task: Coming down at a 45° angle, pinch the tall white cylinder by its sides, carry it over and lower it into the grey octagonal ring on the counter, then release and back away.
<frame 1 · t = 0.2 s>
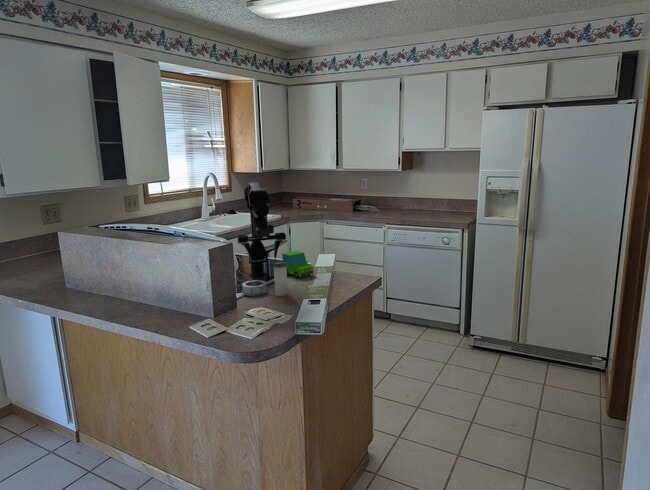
hand: (263, 260, 176), 15 cm above the countertop, tool tilted 15°, fingers open, 9 cm apart
grey octagonal ring: (254, 291, 186), on the countertop
toy car: (298, 275, 209), on the countertop
white cylinder: (281, 294, 182), on the countertop
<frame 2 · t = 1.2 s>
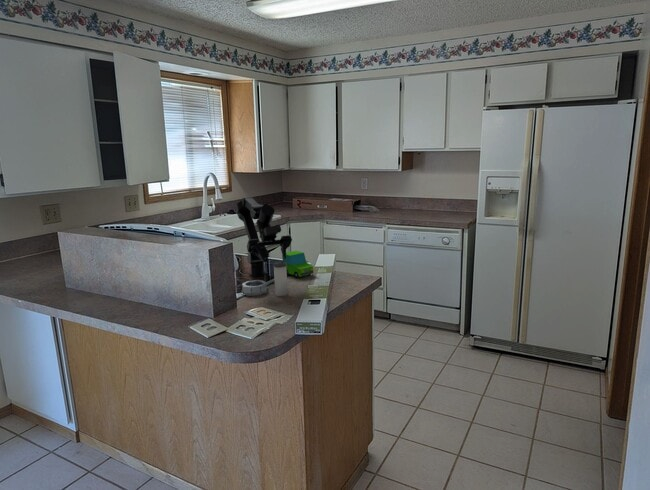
hand: (274, 260, 185), 13 cm above the countertop, tool tilted 45°, fingers open, 9 cm apart
nothing on the countertop moved.
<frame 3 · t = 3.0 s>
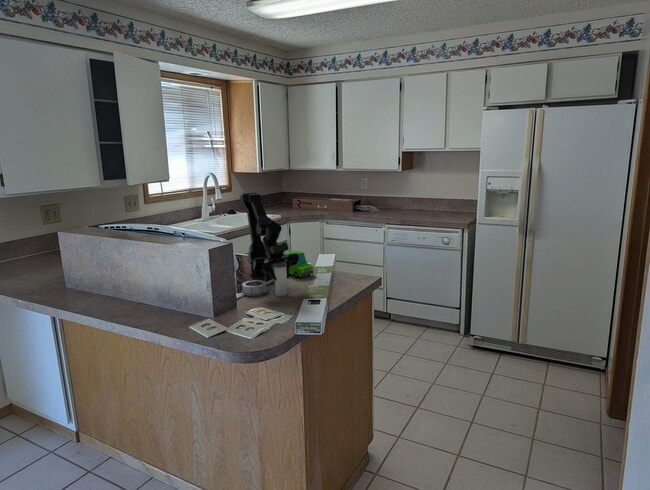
hand: (281, 279, 180), 7 cm above the countertop, tool tilted 45°, fingers closed on white cylinder, 5 cm apart
white cylinder: (281, 294, 182), on the countertop, touching gripper
everything else where it was.
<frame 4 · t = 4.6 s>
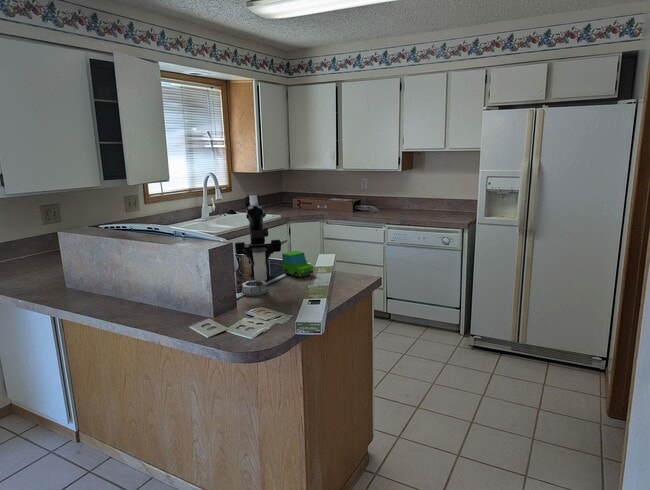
hand: (259, 264, 181), 12 cm above the countertop, tool tilted 45°, fingers closed on white cylinder, 5 cm apart
white cylinder: (260, 279, 184), point 6 cm above the countertop, touching gripper
everything else where it was.
when the fingers open (8 cm above the countertop, at t = 6.2 s): white cylinder drops 1 cm, resting on grey octagonal ring.
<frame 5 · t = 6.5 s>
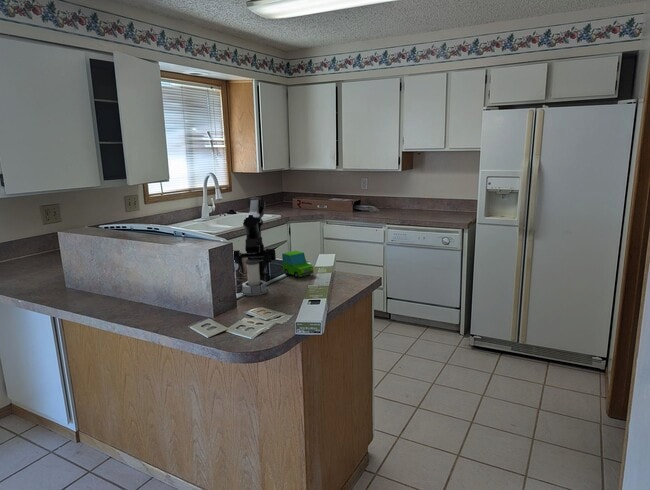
hand: (253, 273, 183), 9 cm above the countertop, tool tilted 45°, fingers open, 8 cm apart
white cylinder: (254, 290, 186), point 1 cm above the countertop, touching grey octagonal ring
everything else where it was.
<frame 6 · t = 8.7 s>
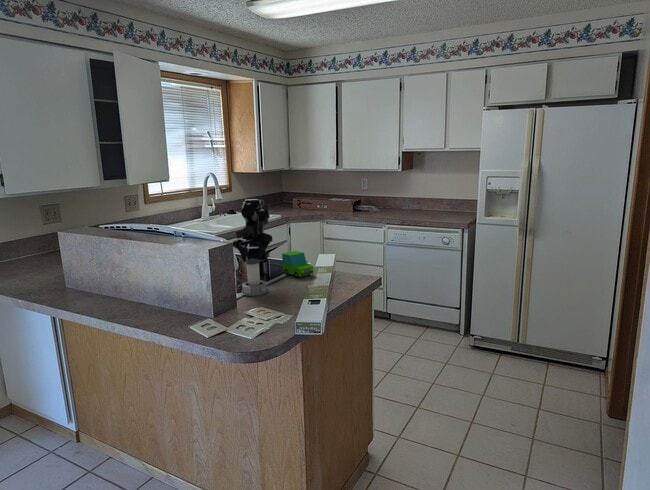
hand: (252, 260, 193), 11 cm above the countertop, tool tilted 30°, fingers open, 9 cm apart
nothing on the countertop moved.
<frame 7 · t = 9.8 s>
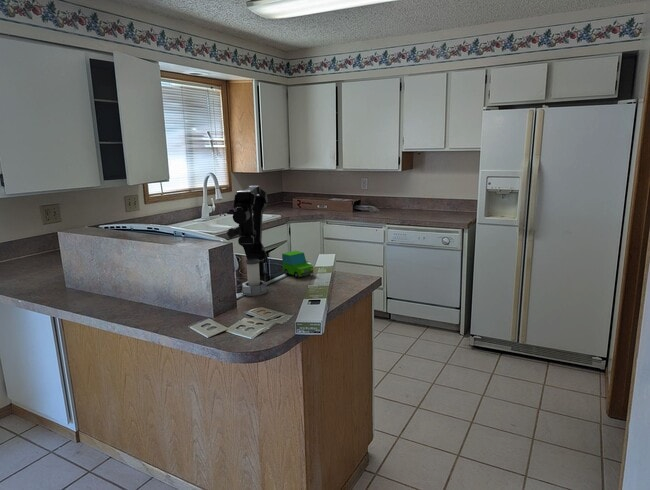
hand: (248, 255, 194), 13 cm above the countertop, tool pointing down, fingers open, 9 cm apart
nothing on the countertop moved.
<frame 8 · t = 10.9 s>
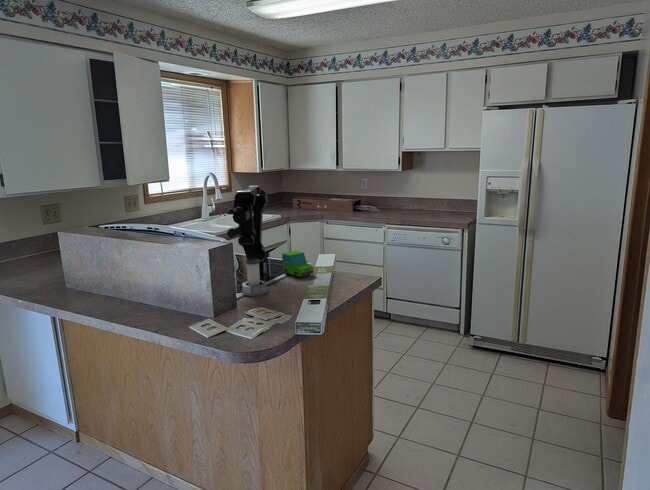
hand: (248, 255, 194), 13 cm above the countertop, tool pointing down, fingers open, 9 cm apart
nothing on the countertop moved.
at the end: white cylinder 0.0 cm off-centre on the grey octagonal ring, point 0.6 cm above the grey octagonal ring's base; white cylinder tilted 0°; the gripper is holding nothing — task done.
